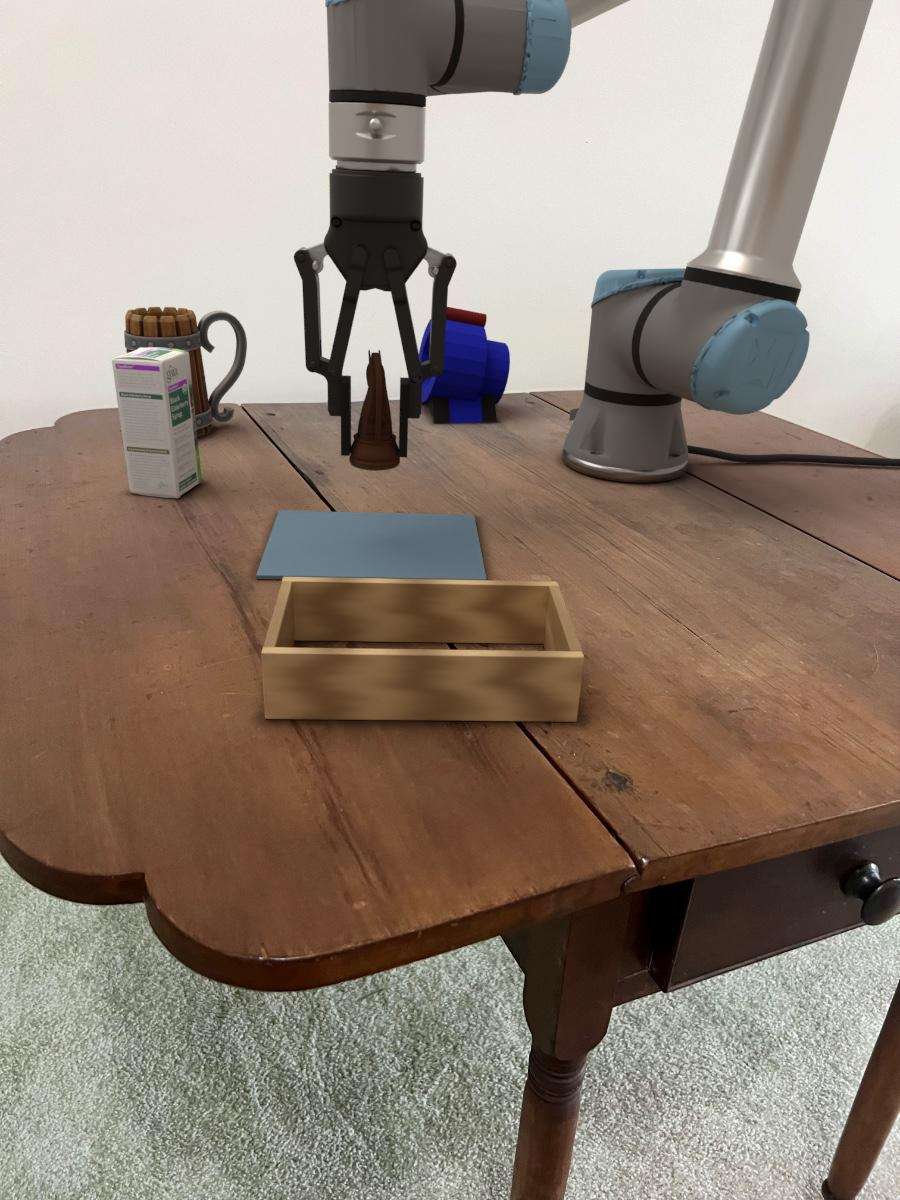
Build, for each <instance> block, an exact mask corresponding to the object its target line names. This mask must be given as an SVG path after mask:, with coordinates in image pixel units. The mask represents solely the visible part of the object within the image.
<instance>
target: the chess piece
mask: <svg viewBox="0 0 900 1200" xmlns="http://www.w3.org/2000/svg"><path fill="white" fill-rule="evenodd" d="M367 352H368V353H367V354H368V364H367V366H366V369H365V379H366V385H367V390H366V394H365V396H364V400H363V404H362V407H361V411H360V414H359V419H358V424H357V432H355V433H354V434H353V442H351V448H350V456H348V457H349V460H348V462H349V463H350V465H351V466H352V467H353V468H356V469H360V470H363V471H370V472H371V471H374V472H375V471H376V472H377V471H389V470H392V469H395V468H397V467H399V465H400V464H401V457H399V444H398V443H397V435H396V434H395V433H393V421H392V420H393V419H392V412H391V406H390V400H389V395H388V389H387V379H386V372H385V367H384V365H383V362H382V353H381V350H380V349H378V351H377V352H371V350H370V349H368V350H367Z"/></svg>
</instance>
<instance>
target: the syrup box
mask: <svg viewBox="0 0 900 1200" xmlns="http://www.w3.org/2000/svg"><path fill="white" fill-rule="evenodd" d="M111 364H112V365H111V366H112V372H113V373H112V374H113V379H114V387H115V394H116V401H117V409H118V416H119V417H118V418H119V425H120V433H121V439H122V444H123V451H124V461H125V467H126V468H125V469H126V474H127V483H128V489H129V492H130V493H131V494H135V495H140V496H147V497H156V498H157V497H158V498H166V499H179V498H181V496H183V495H184V494H185V493H187V492H188V491H190V490H191V489H193V488H194V487H196V486H198V485H200V484H201V483H202V481H203V478H202V477H203V476H202V469H201V460H200V448H199V438H197V428H196V418H195V408H194V398H193V388H192V378H191V368H190V358H189V352H188V351H185V350H179V349H173V348H162V347H148V348H142V347H140V348H138V349H137V350H135V351H132V352H129V353H127V352H126V353H124V354H122V355H117V356H114V357H113V358H111Z"/></svg>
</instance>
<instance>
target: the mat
mask: <svg viewBox="0 0 900 1200" xmlns="http://www.w3.org/2000/svg"><path fill="white" fill-rule="evenodd" d="M263 551H264V552H263V553H262V557H261V561H260V562H259V566H258V568H257V570H256V571H257V572H256V574H255V579H256V580H278V581H279V580H281V581H282V579H283V577H328V578H384V579H439V580H488V579H487V575H486V569H485V564H484V559H483V554H482V548H481V543H480V537H479V533H478V527H477V521H476V517H475V514H459V513H458V514H455V513H418V512H417V513H416V512H415V513H413V512H372V511H371V512H366V511H365V512H363V511H325V510H324V511H323V510H322V511H321V510H319V511H318V510H283V509H282V510H280V509H279V510H278V511H277V515H276V518H275V521H274V523H273V526H272V529H271V532H270V534H269V537H268V540H267V542H266V546H265V548H264V550H263Z"/></svg>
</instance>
